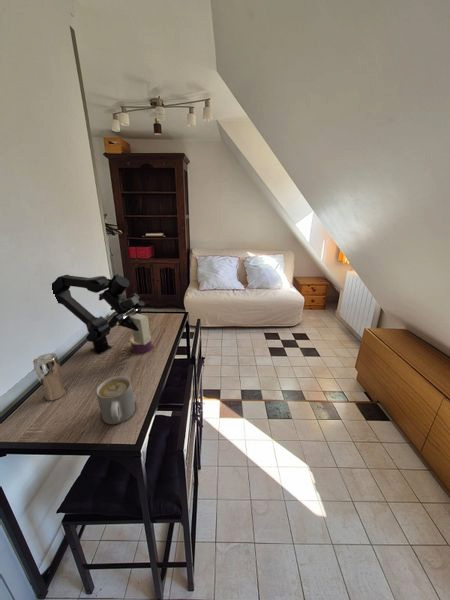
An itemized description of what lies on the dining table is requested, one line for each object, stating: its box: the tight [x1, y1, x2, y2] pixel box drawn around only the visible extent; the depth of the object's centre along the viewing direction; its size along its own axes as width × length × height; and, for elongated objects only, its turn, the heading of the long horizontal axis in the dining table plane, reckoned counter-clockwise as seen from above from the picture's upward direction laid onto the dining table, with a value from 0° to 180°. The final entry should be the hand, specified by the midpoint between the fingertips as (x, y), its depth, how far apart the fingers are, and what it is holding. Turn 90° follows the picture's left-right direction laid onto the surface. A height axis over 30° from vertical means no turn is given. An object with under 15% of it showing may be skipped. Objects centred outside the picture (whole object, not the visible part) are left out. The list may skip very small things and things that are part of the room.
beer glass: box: [32, 352, 67, 401], centre depth 86 cm, size 7×7×15 cm
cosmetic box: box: [130, 313, 152, 345], centre depth 106 cm, size 6×4×12 cm
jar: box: [129, 334, 153, 354], centre depth 116 cm, size 9×9×6 cm
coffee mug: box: [95, 376, 136, 425], centre depth 77 cm, size 13×10×10 cm
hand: (141, 327), depth 106 cm, fingers closed on cosmetic box, 5 cm apart
